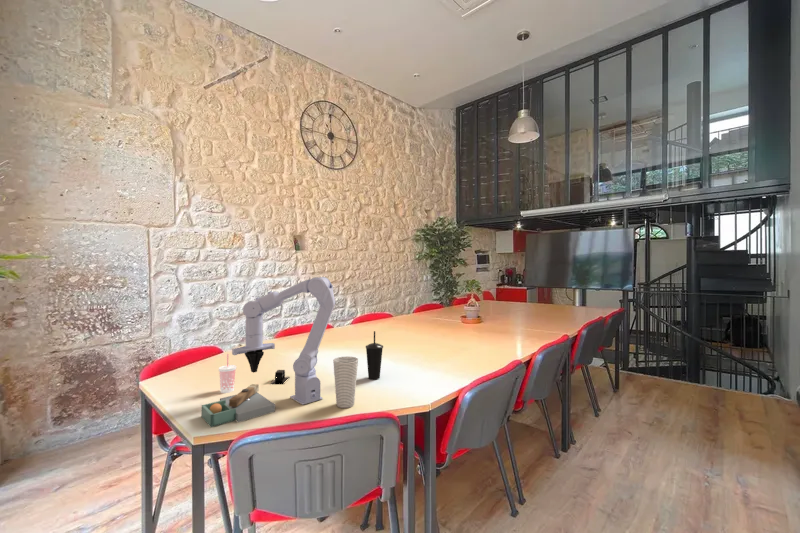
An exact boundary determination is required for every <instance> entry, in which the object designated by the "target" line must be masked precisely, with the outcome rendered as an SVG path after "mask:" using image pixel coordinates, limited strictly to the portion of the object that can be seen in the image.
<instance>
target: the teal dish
mask: <svg viewBox="0 0 800 533" xmlns="http://www.w3.org/2000/svg"><path fill="white" fill-rule="evenodd" d="M216 403H218V404H220V405H221V406H222V410H221V412H219V413H215V414H213V413H212V412H211V411H210V410H209V409H210V407H211V406H212V405H213V404H216ZM200 410H201V414H200V415H201V418H202V419H203V420H204V421H205V422H206V423H207V425H208V426H209V427H210V428H213V427H216V426H221V425H224V424H227V423H231V422H234V421H236V408H234V409H231V408H230V407H229V406H228V405H227V404H226V400H221V401H220V400H218V401H214V402H210V403H209V402H208V403H205V404H201V409H200Z"/></svg>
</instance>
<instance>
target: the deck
mask: <svg viewBox="0 0 800 533" xmlns="http://www.w3.org/2000/svg"><path fill="white" fill-rule="evenodd" d="M235 395H236V394H234V395H229V396H225V397H221V398H219V401H221V400H226V404H227V405H228V406H229V399H231V398H232V397H234V396H235ZM229 407H230V408H231V409H234V408H236V420H235V421H236V422H237V423H240V422H243V421H247V420H248V421H249V420H251V419H255V418H258V417H261V416H264V415H269V414H271V413H274V412H276V403H274V402H273V401H271V400H270V399H268V398H267V397H265V396H264V395H262V394H261V393H259V392H256V393H255V394H253V395H252V396H251V397H250V400H247V401H244V402H242V403H241V404H240V405H238V406H237V407H232V406H229Z"/></svg>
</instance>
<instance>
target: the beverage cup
mask: <svg viewBox="0 0 800 533" xmlns="http://www.w3.org/2000/svg"><path fill="white" fill-rule="evenodd" d="M236 369H237V365H234V364H229V353H227V354H226V365H221V366H219V367H218V372H219V386H220V393H221V394H228V393H232V392H234V390H235V382H236V381H235V380H236Z"/></svg>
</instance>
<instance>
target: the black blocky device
mask: <svg viewBox="0 0 800 533" xmlns="http://www.w3.org/2000/svg"><path fill="white" fill-rule="evenodd" d="M274 374H275V375H274V379H275V380H274V379H273V381H271V383H270V384H272V385H284V384H285V383H286V382H287V381H288V380H289V379H290V376H287V377H286V370H285V369H277V370H276V371H275V373H274ZM276 377H277V378H276ZM288 378H289V379H288ZM287 379H288V380H287ZM286 380H287V381H286ZM285 381H286V382H285ZM284 382H285V383H284ZM283 383H284V384H283Z"/></svg>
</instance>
